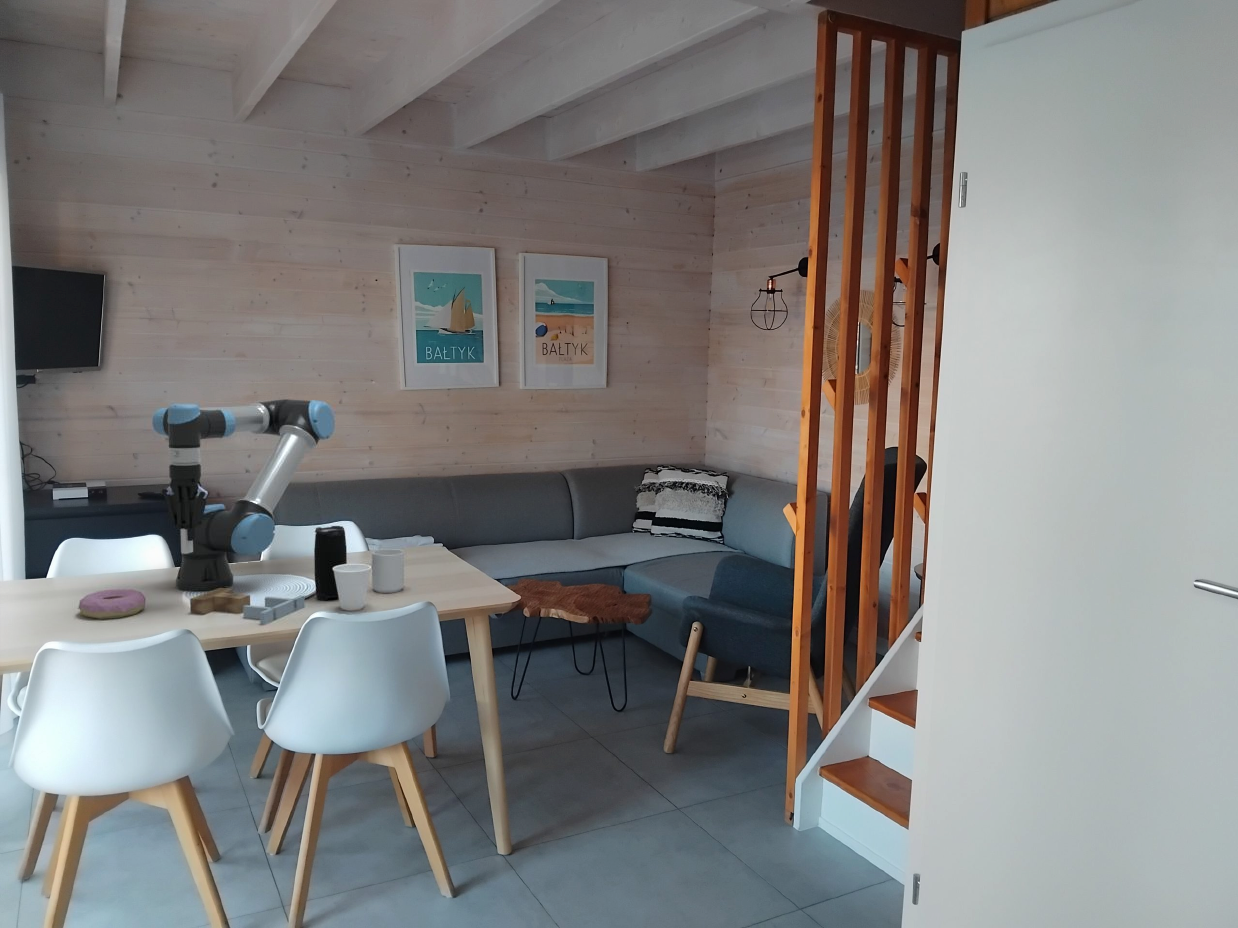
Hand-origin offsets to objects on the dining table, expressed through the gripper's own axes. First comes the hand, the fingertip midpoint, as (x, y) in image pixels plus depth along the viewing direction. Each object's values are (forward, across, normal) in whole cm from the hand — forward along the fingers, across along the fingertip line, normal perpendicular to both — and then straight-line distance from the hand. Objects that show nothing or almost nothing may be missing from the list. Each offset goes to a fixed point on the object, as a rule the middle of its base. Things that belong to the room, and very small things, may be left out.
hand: (187, 552), depth 252 cm
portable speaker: (+15, +30, +20) cm, 39 cm away
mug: (+15, +40, +34) cm, 55 cm away
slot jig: (+15, +24, 0) cm, 28 cm away
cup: (+15, +41, +12) cm, 45 cm away
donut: (+15, -14, -11) cm, 23 cm away
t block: (+15, +11, 0) cm, 18 cm away
